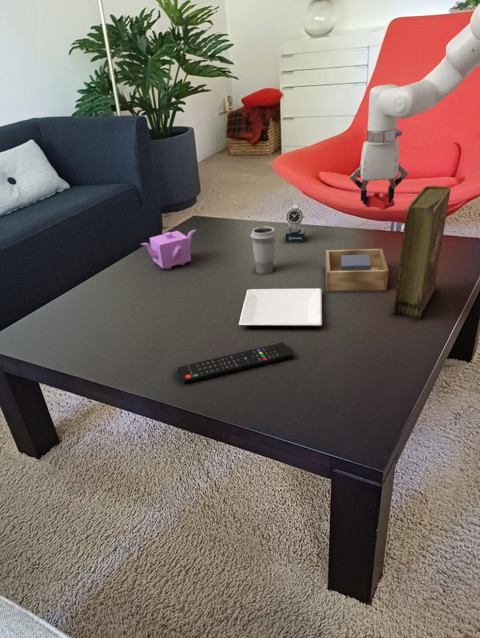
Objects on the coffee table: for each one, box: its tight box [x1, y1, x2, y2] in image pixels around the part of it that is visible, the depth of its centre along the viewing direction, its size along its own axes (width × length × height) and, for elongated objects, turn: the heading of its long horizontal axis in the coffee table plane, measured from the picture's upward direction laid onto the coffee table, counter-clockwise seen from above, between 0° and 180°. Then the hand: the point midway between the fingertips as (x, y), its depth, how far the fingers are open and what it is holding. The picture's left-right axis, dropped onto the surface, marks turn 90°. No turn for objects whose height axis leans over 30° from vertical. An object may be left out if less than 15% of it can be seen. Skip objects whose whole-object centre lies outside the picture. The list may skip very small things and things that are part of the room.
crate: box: [324, 248, 390, 292], centre depth 136 cm, size 15×15×6 cm
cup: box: [249, 225, 277, 275], centre depth 145 cm, size 7×7×12 cm
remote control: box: [177, 341, 294, 384], centre depth 109 cm, size 5×24×1 cm, turn 106°
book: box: [393, 185, 452, 320], centre depth 117 cm, size 16×6×25 cm, turn 148°
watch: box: [285, 204, 306, 244], centre depth 162 cm, size 6×8×11 cm
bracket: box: [365, 191, 396, 211], centre depth 152 cm, size 6×5×3 cm
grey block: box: [340, 255, 371, 271], centre depth 136 cm, size 7×7×5 cm
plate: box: [238, 288, 323, 327], centre depth 126 cm, size 19×19×2 cm
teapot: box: [140, 229, 197, 270], centre depth 156 cm, size 18×13×10 cm
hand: (376, 201), depth 153 cm, fingers closed on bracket, 6 cm apart
